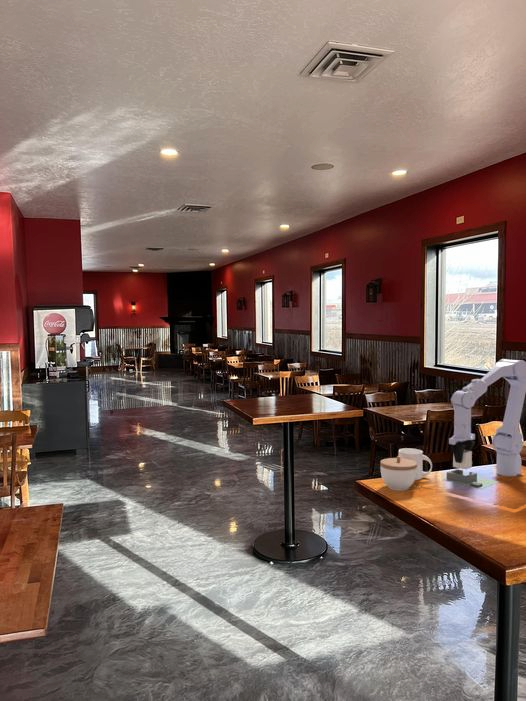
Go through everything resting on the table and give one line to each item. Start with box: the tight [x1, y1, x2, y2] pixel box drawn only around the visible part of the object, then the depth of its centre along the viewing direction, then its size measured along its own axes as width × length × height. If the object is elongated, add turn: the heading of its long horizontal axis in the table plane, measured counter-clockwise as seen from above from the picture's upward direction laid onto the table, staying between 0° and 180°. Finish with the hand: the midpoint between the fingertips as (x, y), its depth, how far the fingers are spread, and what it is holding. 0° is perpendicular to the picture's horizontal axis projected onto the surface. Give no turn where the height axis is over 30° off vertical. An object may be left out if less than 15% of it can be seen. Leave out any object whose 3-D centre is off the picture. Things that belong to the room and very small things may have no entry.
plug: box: [452, 450, 474, 470], centre depth 203 cm, size 8×5×6 cm, turn 131°
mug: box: [398, 447, 433, 481], centre depth 205 cm, size 9×12×11 cm
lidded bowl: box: [379, 455, 417, 492], centre depth 195 cm, size 13×13×11 cm
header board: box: [442, 468, 500, 490], centre depth 201 cm, size 13×15×4 cm
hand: (461, 461), depth 202 cm, fingers closed on plug, 4 cm apart
